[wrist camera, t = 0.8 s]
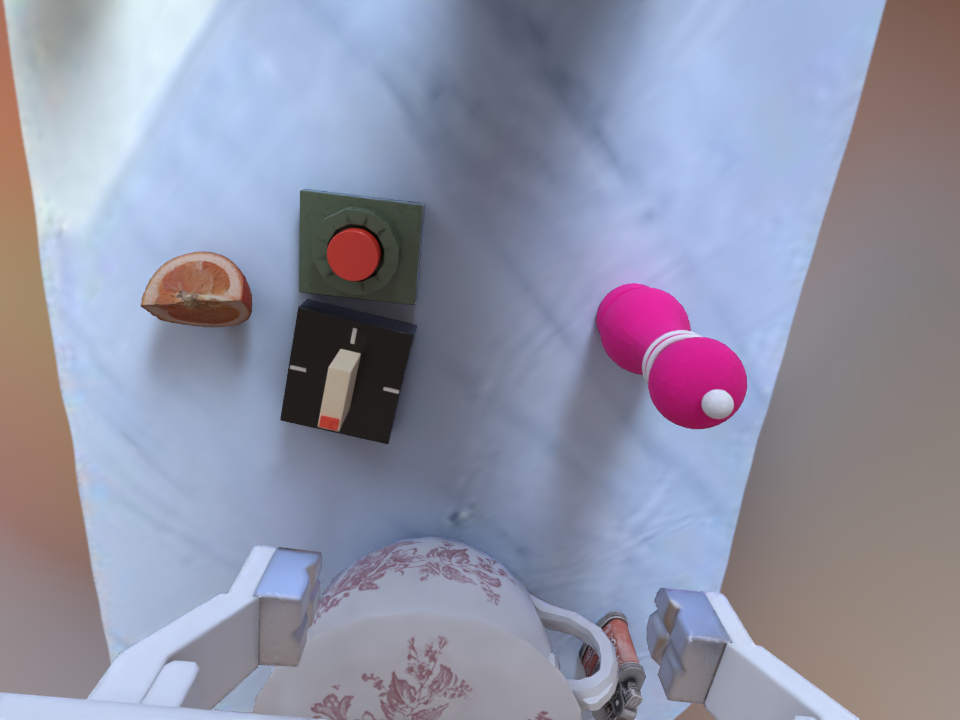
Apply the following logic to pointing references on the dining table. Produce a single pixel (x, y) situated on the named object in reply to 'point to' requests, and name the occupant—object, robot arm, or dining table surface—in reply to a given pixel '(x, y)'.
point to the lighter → (623, 704)
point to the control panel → (376, 377)
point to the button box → (380, 217)
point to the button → (354, 254)
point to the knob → (338, 389)
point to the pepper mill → (671, 356)
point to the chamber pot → (436, 644)
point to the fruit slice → (199, 291)
